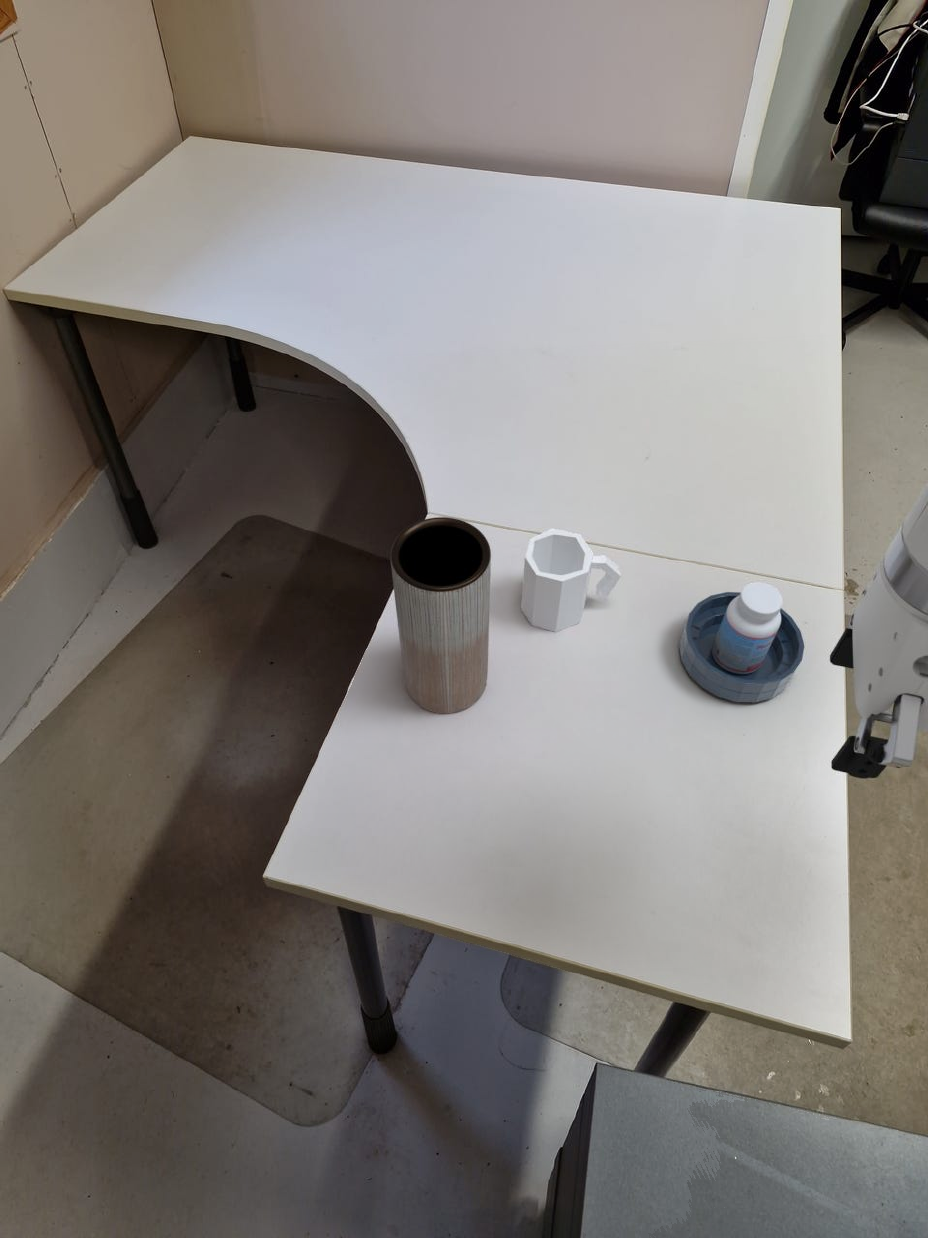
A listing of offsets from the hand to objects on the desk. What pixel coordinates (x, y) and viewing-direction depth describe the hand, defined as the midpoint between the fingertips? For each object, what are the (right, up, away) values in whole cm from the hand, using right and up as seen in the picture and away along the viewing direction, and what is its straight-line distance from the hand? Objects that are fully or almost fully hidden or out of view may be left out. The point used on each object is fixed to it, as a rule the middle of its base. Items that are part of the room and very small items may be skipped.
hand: (850, 715), depth 63 cm
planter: (-32, 0, +36) cm, 48 cm away
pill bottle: (+4, +3, +37) cm, 38 cm away
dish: (+4, +3, +38) cm, 38 cm away
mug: (-16, +9, +43) cm, 47 cm away
